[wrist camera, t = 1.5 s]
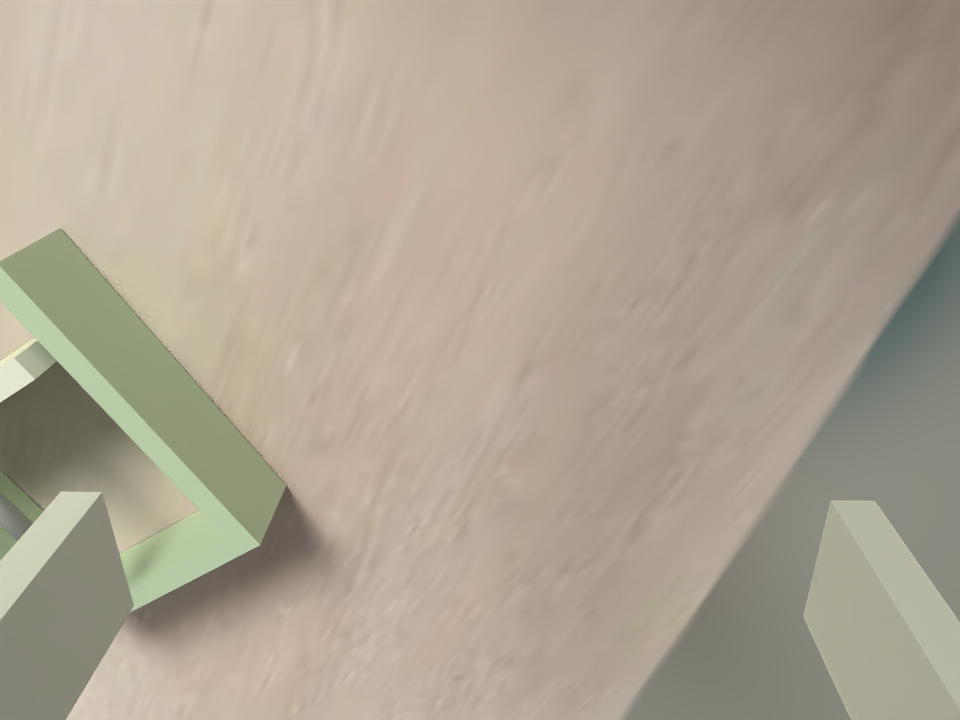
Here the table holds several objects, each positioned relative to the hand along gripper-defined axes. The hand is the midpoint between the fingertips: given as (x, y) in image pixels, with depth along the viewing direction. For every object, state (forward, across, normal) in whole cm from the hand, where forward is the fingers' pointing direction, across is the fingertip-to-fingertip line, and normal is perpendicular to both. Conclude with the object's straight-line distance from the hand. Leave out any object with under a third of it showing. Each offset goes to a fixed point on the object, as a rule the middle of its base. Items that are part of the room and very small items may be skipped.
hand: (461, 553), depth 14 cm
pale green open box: (+24, -22, -11) cm, 34 cm away
